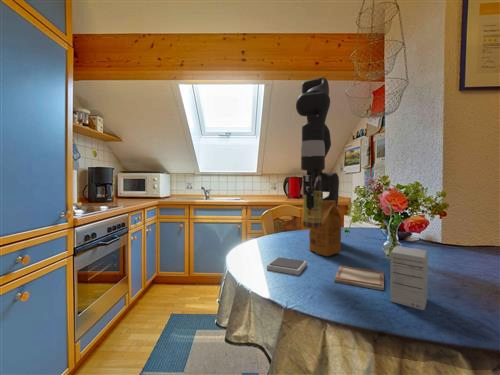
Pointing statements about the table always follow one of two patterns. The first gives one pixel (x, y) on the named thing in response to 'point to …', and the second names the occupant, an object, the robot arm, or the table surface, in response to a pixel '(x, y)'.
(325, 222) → the coffee package
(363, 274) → the marked board
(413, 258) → the supplement box
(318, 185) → the sauce bottle
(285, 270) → the ink pad
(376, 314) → the table surface
